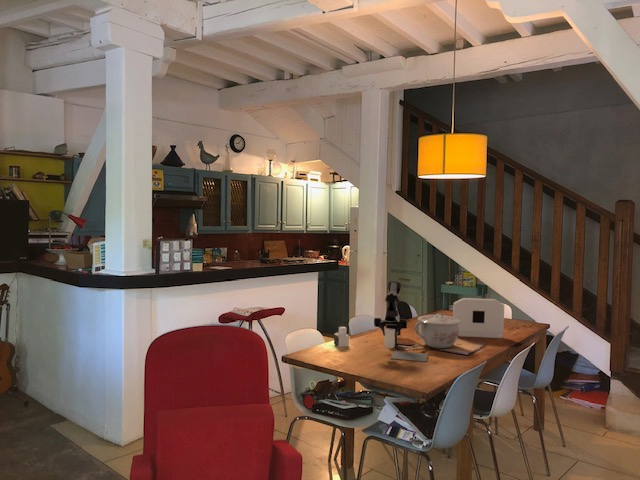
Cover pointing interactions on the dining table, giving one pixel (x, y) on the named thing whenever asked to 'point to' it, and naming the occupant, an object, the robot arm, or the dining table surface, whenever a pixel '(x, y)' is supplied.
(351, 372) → the dining table surface
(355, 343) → the dining table surface
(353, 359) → the dining table surface
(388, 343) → the canister
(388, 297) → the robot arm
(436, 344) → the chamber pot
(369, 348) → the dining table surface
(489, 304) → the grey boxy block
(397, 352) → the mat
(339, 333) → the grey bottle
